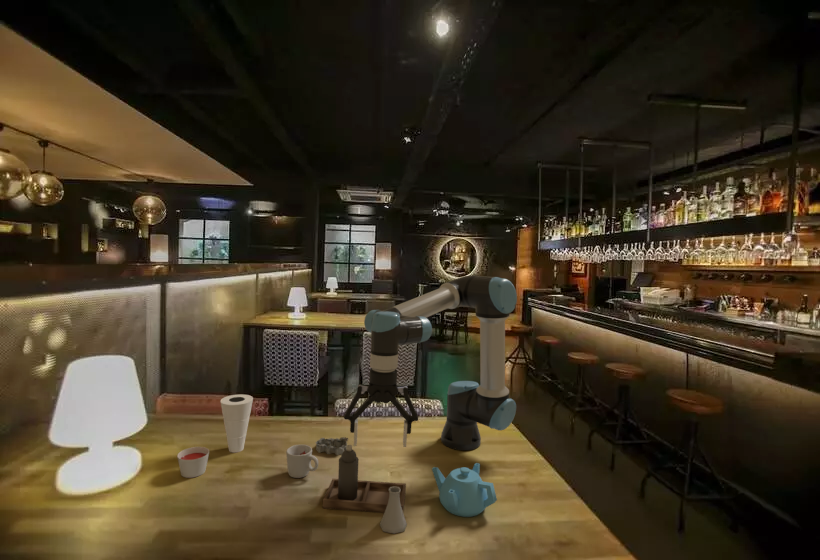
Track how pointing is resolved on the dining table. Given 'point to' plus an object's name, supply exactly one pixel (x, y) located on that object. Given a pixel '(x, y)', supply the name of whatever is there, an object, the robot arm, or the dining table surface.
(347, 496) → the pepper mill
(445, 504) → the teapot
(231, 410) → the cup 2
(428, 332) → the robot arm
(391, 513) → the flask
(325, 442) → the egg carton
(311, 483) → the dining table surface
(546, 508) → the dining table surface
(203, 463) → the candle
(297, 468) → the cup
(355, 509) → the caddy
